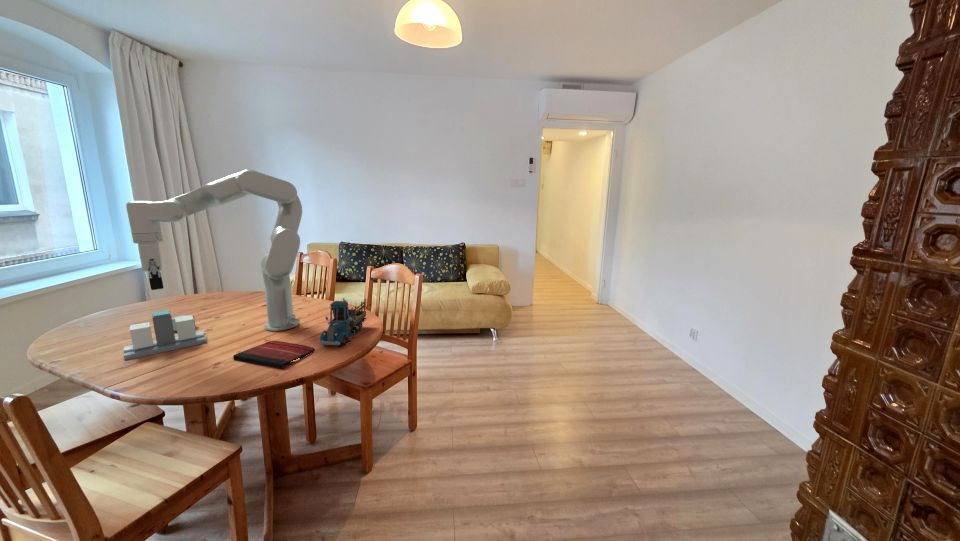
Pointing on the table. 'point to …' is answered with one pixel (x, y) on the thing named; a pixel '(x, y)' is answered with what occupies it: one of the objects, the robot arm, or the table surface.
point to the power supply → (175, 322)
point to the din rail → (130, 348)
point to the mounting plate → (163, 347)
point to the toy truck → (343, 323)
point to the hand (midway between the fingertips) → (156, 286)
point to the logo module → (163, 327)
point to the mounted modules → (144, 336)
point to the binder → (274, 354)
